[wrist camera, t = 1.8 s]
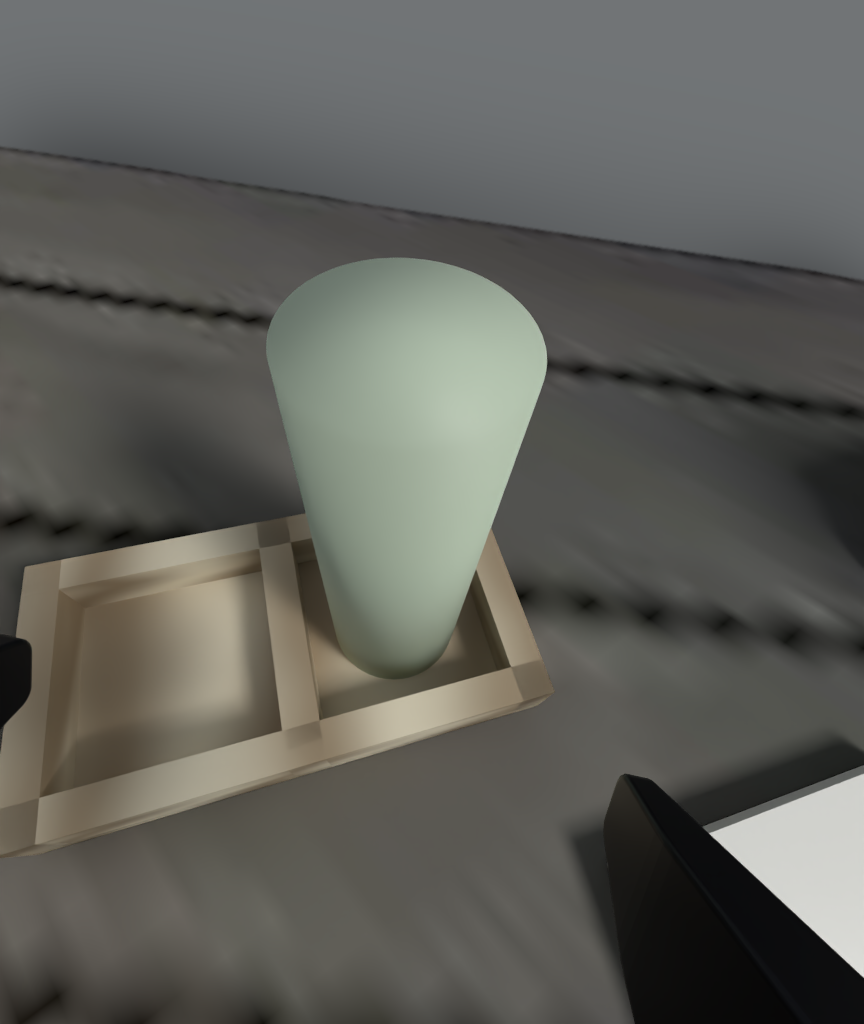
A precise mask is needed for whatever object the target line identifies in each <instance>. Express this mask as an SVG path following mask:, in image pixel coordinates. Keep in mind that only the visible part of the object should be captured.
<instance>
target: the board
mask: <svg viewBox="0 0 864 1024" xmlns="http://www.w3.org/2000/svg"><path fill="white" fill-rule="evenodd" d="M703 828H704V829H705V830H706V831H707V832H708V833H709V834H710V835H711V836H712V837H713V838H715V839H716V840H717V841H718V842H719V843H720V844H721V845H722V846H723V847H724V848H725V849H726V850H727V851H728V852H730V853H731V854H732V855H733V856H734V857H735V858H736V859H737V860H738V861H739V862H740V863H741V864H742V865H743V866H745V867H746V868H747V869H748V870H749V871H750V872H751V873H752V874H753V875H754V876H755V877H756V878H757V879H758V880H760V881H761V882H762V883H763V884H764V885H765V886H766V887H767V888H768V889H769V890H770V891H771V892H772V893H773V894H775V895H776V896H777V897H778V898H779V899H780V900H781V901H782V902H783V903H784V904H785V905H786V906H787V907H789V908H790V909H791V910H792V911H793V912H794V913H795V914H796V915H797V916H798V917H799V918H800V919H801V920H802V921H804V922H805V923H806V924H807V925H808V926H809V927H810V928H811V929H812V930H813V931H814V932H815V933H816V934H817V935H819V936H820V937H821V938H822V939H823V940H824V941H825V942H826V943H827V944H828V945H829V946H830V947H831V948H832V949H834V950H835V951H836V952H837V953H838V954H839V955H840V956H841V957H842V958H843V959H844V960H845V961H846V962H847V963H849V964H850V965H851V966H852V967H853V968H854V969H855V970H856V971H857V972H858V973H859V974H860V975H861V976H863V977H864V765H862V766H860V767H857V768H855V769H852V770H849V771H847V772H844V773H842V774H839V775H836V776H834V777H831V778H828V779H826V780H823V781H821V782H818V783H815V784H813V785H810V786H807V787H805V788H802V789H800V790H797V791H794V792H792V793H789V794H787V795H784V796H781V797H779V798H776V799H773V800H771V801H768V802H766V803H763V804H760V805H758V806H755V807H752V808H750V809H747V810H745V811H742V812H739V813H737V814H734V815H732V816H729V817H726V818H724V819H721V820H718V821H716V822H713V823H711V824H708V825H705V826H703ZM606 864H607V863H606ZM607 867H608V866H607Z"/></svg>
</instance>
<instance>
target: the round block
mask: <svg viewBox="0 0 864 1024" xmlns="http://www.w3.org/2000/svg"><path fill="white" fill-rule="evenodd" d="M266 350H267V360H268V364H269V368H270V372H271V376H272V380H273V384H274V388H275V392H276V396H277V400H278V404H279V408H280V412H281V416H282V420H283V424H284V428H285V432H286V436H287V440H288V444H289V448H290V452H291V456H292V460H293V464H294V468H295V472H296V476H297V480H298V484H299V488H300V492H301V496H302V500H303V504H304V508H305V512H306V516H307V520H308V524H309V528H310V532H311V536H312V540H313V544H314V548H315V552H316V556H317V560H318V565H319V569H320V573H321V577H322V581H323V585H324V589H325V593H326V597H327V601H328V605H329V609H330V613H331V617H332V621H333V625H334V629H335V633H336V637H337V640H338V643H339V645H340V648H341V649H342V651H343V653H344V654H345V656H346V657H347V658H348V659H349V661H350V662H351V663H353V664H354V665H355V666H356V667H357V668H359V669H360V670H362V671H363V672H365V673H367V674H369V675H372V676H375V677H378V678H383V679H393V680H394V679H404V678H409V677H412V676H415V675H418V674H420V673H422V672H424V671H425V670H427V669H428V668H430V667H431V666H432V665H433V664H435V663H436V662H437V661H438V660H439V658H440V657H441V656H442V655H443V653H444V652H445V650H446V648H447V646H448V644H449V642H450V639H451V636H452V634H453V631H454V628H455V625H456V623H457V620H458V617H459V614H460V611H461V609H462V606H463V603H464V600H465V598H466V595H467V592H468V589H469V587H470V584H471V581H472V578H473V576H474V573H475V570H476V567H477V564H478V562H479V559H480V556H481V553H482V551H483V548H484V545H485V542H486V540H487V537H488V534H489V531H490V529H491V526H492V523H493V520H494V517H495V515H496V512H497V509H498V506H499V504H500V501H501V498H502V495H503V493H504V490H505V487H506V484H507V482H508V479H509V476H510V473H511V470H512V468H513V465H514V462H515V459H516V457H517V454H518V451H519V448H520V446H521V443H522V440H523V437H524V435H525V432H526V429H527V426H528V423H529V421H530V418H531V415H532V412H533V410H534V407H535V404H536V401H537V399H538V396H539V393H540V390H541V387H542V385H543V381H544V378H545V374H546V367H547V354H546V346H545V343H544V339H543V336H542V334H541V332H540V330H539V328H538V325H537V324H536V322H535V321H534V319H533V318H532V316H531V315H530V313H529V312H528V311H527V310H526V309H525V308H524V307H523V305H522V304H521V303H520V302H519V301H517V300H516V299H515V298H514V297H513V296H512V295H511V294H509V293H508V292H507V291H505V290H504V289H502V288H501V287H500V286H498V285H496V284H495V283H493V282H491V281H489V280H488V279H486V278H484V277H482V276H479V275H477V274H475V273H473V272H470V271H467V270H465V269H462V268H459V267H456V266H452V265H448V264H445V263H441V262H435V261H430V260H423V259H413V258H379V259H371V260H364V261H359V262H354V263H350V264H346V265H343V266H340V267H336V268H333V269H331V270H329V271H326V272H324V273H322V274H319V275H318V276H316V277H314V278H312V279H310V280H309V281H307V282H305V283H304V284H303V285H301V286H300V287H299V288H297V289H296V290H295V291H294V292H293V293H292V294H291V295H289V296H288V297H287V298H286V299H285V301H284V302H283V303H282V305H281V306H280V307H279V308H278V310H277V312H276V314H275V315H274V317H273V319H272V321H271V324H270V327H269V330H268V334H267V342H266Z"/></svg>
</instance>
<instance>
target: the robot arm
mask: <svg viewBox="0 0 864 1024" xmlns="http://www.w3.org/2000/svg"><path fill="white" fill-rule="evenodd" d="M31 689H32V647H31V644H30V643H29V642H28V641H27V640H25V639H21V638H17V637H12V636H8V635H1V634H0V729H1V728H2V727H3V726H4V725H5V724H6V723H7V722H8V721H9V720H10V719H11V718H12V717H13V716H14V715H15V714H16V713H17V711H18V710H19V709H20V708H21V707H22V706H23V705H24V704H25V702H26V701H27V699H28V697H29V695H30V692H31ZM603 833H604V844H605V851H606V858H607V866H608V873H609V881H610V888H611V895H612V903H613V910H614V918H615V925H616V932H617V939H618V946H619V952H620V958H621V963H622V968H623V973H624V978H625V982H626V987H627V991H628V995H629V1000H630V1004H631V1009H632V1013H633V1017H634V1022H635V1024H864V977H863V976H861V975H860V974H859V973H858V972H857V971H856V970H855V969H854V968H853V967H852V966H851V965H850V964H849V963H847V962H846V961H845V960H844V959H843V958H842V957H841V956H840V955H839V954H838V953H837V952H836V951H835V950H834V949H832V948H831V947H830V946H829V945H828V944H827V943H826V942H825V941H824V940H823V939H822V938H821V937H820V936H819V935H817V934H816V933H815V932H814V931H813V930H812V929H811V928H810V927H809V926H808V925H807V924H806V923H805V922H804V921H802V920H801V919H800V918H799V917H798V916H797V915H796V914H795V913H794V912H793V911H792V910H791V909H790V908H789V907H787V906H786V905H785V904H784V903H783V902H782V901H781V900H780V899H779V898H778V897H777V896H776V895H775V894H773V893H772V892H771V891H770V890H769V889H768V888H767V887H766V886H765V885H764V884H763V883H762V882H761V881H760V880H758V879H757V878H756V877H755V876H754V875H753V874H752V873H751V872H750V871H749V870H748V869H747V868H746V867H745V866H743V865H742V864H741V863H740V862H739V861H738V860H737V859H736V858H735V857H734V856H733V855H732V854H731V853H730V852H728V851H727V850H726V849H725V848H724V847H723V846H722V845H721V844H720V843H719V842H718V841H717V840H716V839H715V838H713V837H712V836H711V835H710V834H709V833H708V832H707V831H706V830H705V829H704V828H703V827H702V826H701V825H699V824H698V823H697V822H696V821H695V820H694V819H693V818H692V817H691V816H690V815H689V814H688V813H687V812H686V811H684V810H683V809H682V808H681V807H680V806H679V805H678V804H677V803H676V802H675V801H674V800H673V799H672V798H671V797H669V796H668V795H667V794H666V793H665V792H664V791H663V790H662V789H661V788H660V787H659V786H658V785H657V784H656V783H654V782H653V781H652V780H650V779H648V778H643V777H639V776H634V775H630V774H624V775H621V776H620V778H619V779H618V781H617V783H616V786H615V789H614V792H613V795H612V798H611V801H610V804H609V807H608V810H607V814H606V817H605V820H604V829H603Z"/></svg>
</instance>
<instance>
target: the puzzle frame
mask: <svg viewBox="0 0 864 1024" xmlns="http://www.w3.org/2000/svg"><path fill="white" fill-rule="evenodd" d="M16 637H17V638H21V639H25V640H27V641H28V642H29V643H30V644H31V647H32V689H31V692H30V695H29V697H28V699H27V701H26V702H25V704H24V705H23V706H22V707H21V708H20V709H19V710H18V711H17V713H16V714H15V715H14V716H13V717H12V718H11V719H10V720H9V721H8V722H7V723H6V724H5V725H4V729H3V737H2V745H1V752H0V858H5V857H17V856H28V855H39V854H42V853H45V852H49V851H52V850H55V849H59V848H62V847H66V846H69V845H72V844H76V843H79V842H82V841H86V840H89V839H92V838H96V837H99V836H102V835H106V834H109V833H112V832H116V831H119V830H123V829H126V828H129V827H133V826H136V825H139V824H143V823H146V822H149V821H153V820H156V819H159V818H163V817H166V816H169V815H173V814H176V813H180V812H183V811H186V810H190V809H193V808H196V807H200V806H203V805H206V804H210V803H213V802H216V801H220V800H223V799H226V798H230V797H233V796H237V795H240V794H243V793H247V792H250V791H253V790H257V789H260V788H263V787H267V786H270V785H273V784H277V783H280V782H283V781H287V780H290V779H294V778H297V777H300V776H304V775H307V774H310V773H314V772H317V771H320V770H324V769H327V768H330V767H334V766H337V765H341V764H344V763H347V762H351V761H354V760H357V759H361V758H364V757H367V756H371V755H374V754H377V753H381V752H384V751H387V750H391V749H394V748H398V747H401V746H404V745H408V744H411V743H414V742H418V741H421V740H424V739H428V738H431V737H434V736H438V735H441V734H444V733H448V732H451V731H455V730H458V729H461V728H465V727H468V726H471V725H475V724H478V723H481V722H485V721H488V720H491V719H495V718H498V717H501V716H505V715H508V714H512V713H515V712H518V711H522V710H525V709H528V708H532V707H535V706H537V705H539V704H540V703H541V702H542V701H544V700H545V699H546V698H548V697H549V696H550V695H551V694H553V693H554V692H555V691H554V688H553V686H552V683H551V681H550V678H549V676H548V673H547V671H546V668H545V665H544V663H543V660H542V658H541V655H540V653H539V650H538V647H537V645H536V642H535V640H534V637H533V635H532V632H531V630H530V627H529V624H528V622H527V619H526V617H525V614H524V612H523V609H522V606H521V604H520V601H519V599H518V596H517V594H516V591H515V588H514V586H513V583H512V581H511V578H510V576H509V573H508V571H507V568H506V565H505V563H504V560H503V558H502V555H501V553H500V550H499V547H498V545H497V542H496V540H495V537H494V535H493V532H492V529H490V531H489V534H488V537H487V540H486V542H485V545H484V548H483V551H482V553H481V556H480V559H479V562H478V564H477V567H476V570H475V573H474V576H473V578H472V581H471V584H470V587H469V589H468V592H467V595H466V598H465V600H464V603H463V606H462V609H461V611H460V614H459V617H458V620H457V623H456V625H455V628H454V631H453V634H452V636H451V639H450V642H449V644H448V646H447V648H446V650H445V652H444V653H443V655H442V656H441V657H440V658H439V660H438V661H437V662H436V663H435V664H433V665H432V666H431V667H430V668H428V669H427V670H425V671H424V672H422V673H420V674H418V675H415V676H412V677H409V678H404V679H394V680H393V679H383V678H378V677H375V676H372V675H369V674H367V673H365V672H363V671H362V670H360V669H359V668H357V667H356V666H355V665H354V664H353V663H351V662H350V661H349V659H348V658H347V657H346V656H345V654H344V653H343V651H342V649H341V648H340V645H339V643H338V640H337V637H336V633H335V629H334V625H333V621H332V617H331V613H330V609H329V605H328V601H327V597H326V593H325V589H324V585H323V581H322V577H321V573H320V569H319V565H318V560H317V556H316V552H315V548H314V544H313V540H312V536H311V532H310V528H309V524H308V520H307V516H306V513H304V514H299V515H294V516H288V517H283V518H278V519H273V520H267V521H262V522H257V523H252V524H246V525H241V526H236V527H231V528H225V529H220V530H215V531H210V532H205V533H199V534H194V535H189V536H184V537H178V538H173V539H168V540H163V541H157V542H152V543H147V544H142V545H136V546H131V547H126V548H121V549H115V550H110V551H105V552H100V553H94V554H89V555H84V556H79V557H73V558H68V559H63V560H58V561H52V562H47V563H42V564H37V565H31V566H26V567H25V570H24V577H23V585H22V593H21V600H20V608H19V615H18V623H17V631H16Z"/></svg>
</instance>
